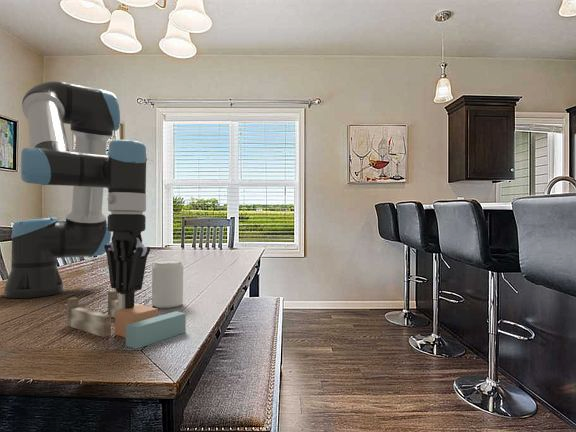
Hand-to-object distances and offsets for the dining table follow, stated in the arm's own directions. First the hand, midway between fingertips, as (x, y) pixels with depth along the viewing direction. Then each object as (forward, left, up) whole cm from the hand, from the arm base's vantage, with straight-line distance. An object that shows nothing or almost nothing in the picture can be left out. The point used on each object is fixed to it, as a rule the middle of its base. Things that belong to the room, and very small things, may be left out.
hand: (125, 322), depth 80 cm
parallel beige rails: (-6, 0, -2) cm, 6 cm away
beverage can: (-10, +19, -2) cm, 22 cm away
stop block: (+10, 0, -2) cm, 11 cm away
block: (+4, 0, -2) cm, 4 cm away
